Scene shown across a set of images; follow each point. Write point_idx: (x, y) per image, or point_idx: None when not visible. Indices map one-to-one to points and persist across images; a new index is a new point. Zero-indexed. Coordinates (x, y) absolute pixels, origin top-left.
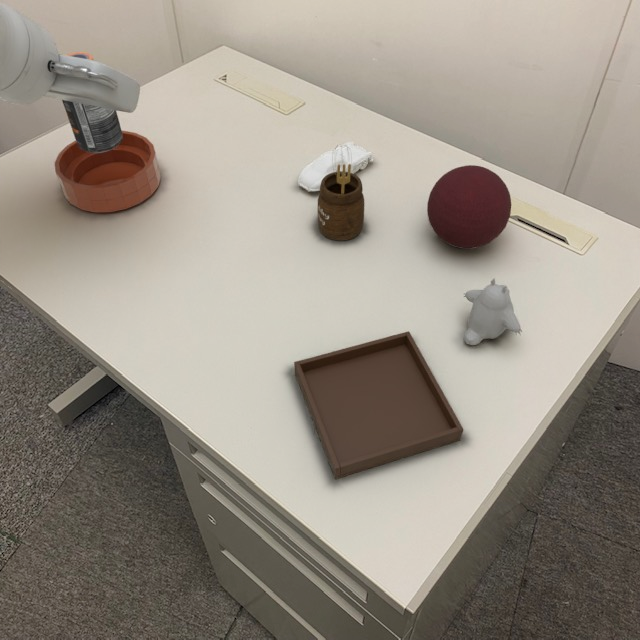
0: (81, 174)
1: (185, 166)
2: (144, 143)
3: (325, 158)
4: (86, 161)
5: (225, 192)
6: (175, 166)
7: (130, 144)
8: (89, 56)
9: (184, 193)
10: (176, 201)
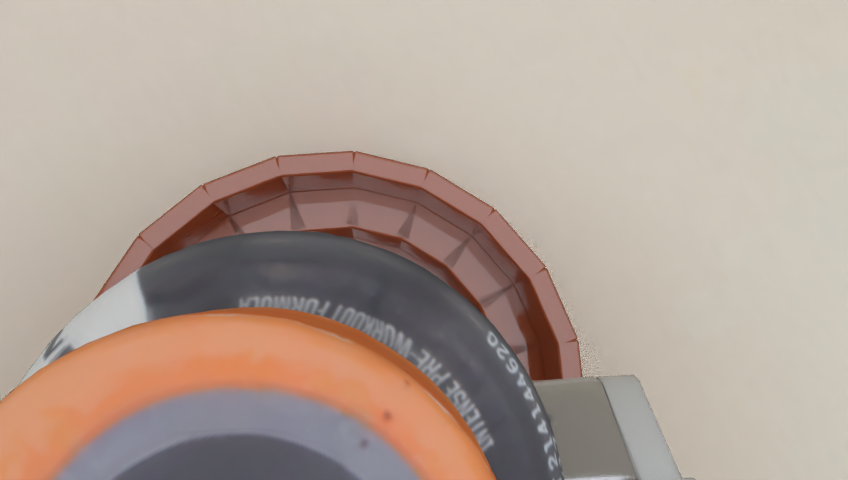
0: None
1: (554, 162)
2: (431, 199)
3: None
4: None
5: (793, 257)
6: (516, 177)
7: (326, 188)
8: (394, 424)
9: (649, 324)
10: (648, 383)
